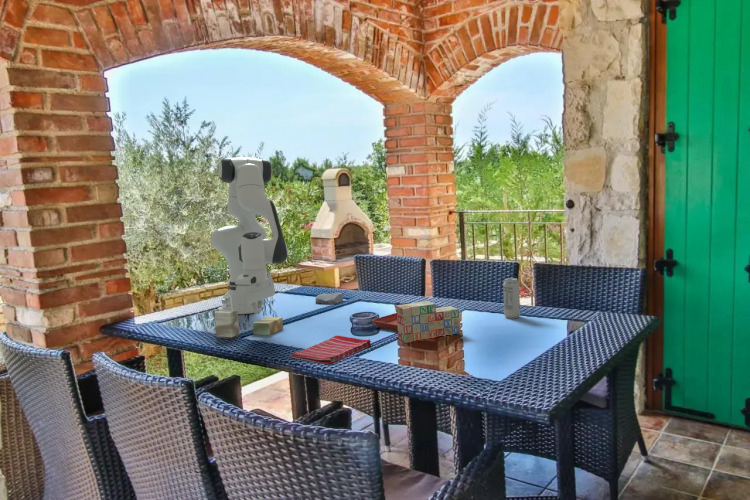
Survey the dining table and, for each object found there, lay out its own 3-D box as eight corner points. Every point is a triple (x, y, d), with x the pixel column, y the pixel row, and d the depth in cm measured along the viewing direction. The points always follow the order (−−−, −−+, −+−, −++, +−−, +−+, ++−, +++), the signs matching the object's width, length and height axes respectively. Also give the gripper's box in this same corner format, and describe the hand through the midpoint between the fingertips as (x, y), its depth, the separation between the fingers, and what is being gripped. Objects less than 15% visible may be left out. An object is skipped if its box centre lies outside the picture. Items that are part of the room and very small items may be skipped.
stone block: (337, 308, 279) (344, 299, 288) (335, 298, 277) (343, 290, 286) (314, 308, 282) (321, 300, 291) (312, 299, 281) (319, 291, 290)
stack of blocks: (452, 330, 220) (450, 297, 219) (460, 334, 215) (458, 300, 213) (397, 339, 213) (396, 304, 212) (404, 343, 207) (403, 308, 206)
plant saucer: (437, 324, 232) (437, 315, 231) (407, 335, 219) (406, 326, 218) (402, 319, 244) (401, 310, 244) (371, 328, 231) (370, 320, 231)
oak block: (268, 323, 228) (282, 317, 237) (252, 322, 231) (267, 316, 240) (269, 335, 228) (283, 328, 238) (253, 334, 231) (267, 327, 240)
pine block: (232, 339, 225) (229, 313, 224) (216, 338, 228) (214, 312, 227) (239, 336, 229) (237, 310, 228) (224, 335, 232) (222, 309, 231)
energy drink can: (523, 317, 233) (522, 279, 232) (509, 319, 231) (508, 281, 230) (514, 314, 239) (513, 277, 237) (501, 316, 237) (500, 278, 235)
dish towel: (373, 346, 207) (373, 339, 207) (330, 366, 188) (329, 358, 187) (334, 341, 217) (333, 334, 216) (289, 359, 197) (288, 351, 197)
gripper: (263, 271, 237) (266, 306, 239) (231, 280, 219) (234, 318, 220) (277, 271, 235) (280, 306, 237) (246, 281, 216) (249, 319, 218)
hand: (257, 312), depth 228 cm, fingers closed
